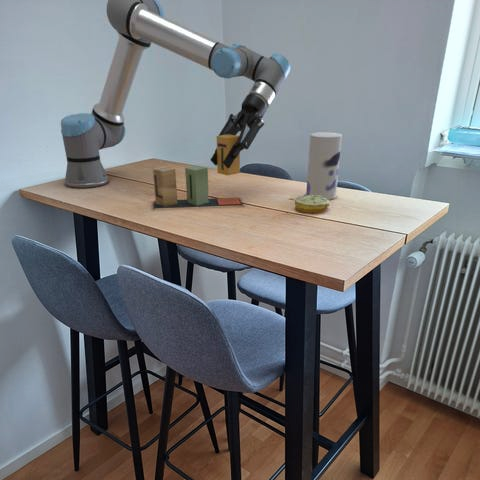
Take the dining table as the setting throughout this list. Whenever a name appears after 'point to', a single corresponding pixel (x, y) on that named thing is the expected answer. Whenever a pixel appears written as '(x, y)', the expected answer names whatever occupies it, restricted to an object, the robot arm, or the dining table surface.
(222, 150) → the tall mustard brick
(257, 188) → the dining table surface
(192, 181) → the sage I block
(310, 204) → the decorated donut
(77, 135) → the robot arm
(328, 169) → the container
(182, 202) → the word mat
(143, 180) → the dining table surface
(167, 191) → the tan tall block
